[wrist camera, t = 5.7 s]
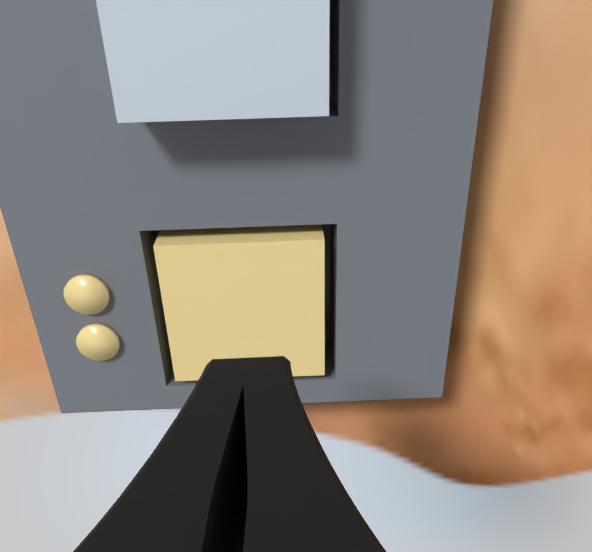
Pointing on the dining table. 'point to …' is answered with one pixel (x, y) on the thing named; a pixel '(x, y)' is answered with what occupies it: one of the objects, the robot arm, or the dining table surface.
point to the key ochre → (243, 295)
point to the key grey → (216, 58)
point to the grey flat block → (243, 197)
